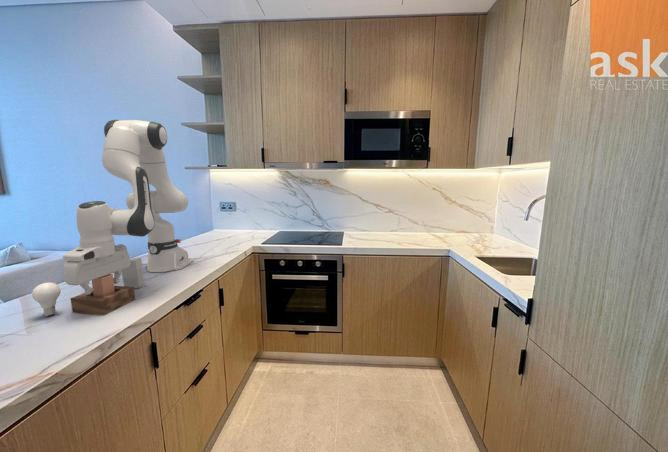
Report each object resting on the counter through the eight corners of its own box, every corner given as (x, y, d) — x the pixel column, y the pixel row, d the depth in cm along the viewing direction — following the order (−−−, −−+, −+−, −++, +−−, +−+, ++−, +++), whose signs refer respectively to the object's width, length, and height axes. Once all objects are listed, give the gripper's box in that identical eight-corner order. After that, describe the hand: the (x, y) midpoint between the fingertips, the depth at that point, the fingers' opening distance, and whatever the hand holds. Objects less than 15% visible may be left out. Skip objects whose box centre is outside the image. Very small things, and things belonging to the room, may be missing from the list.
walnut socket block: (107, 297, 102) (105, 284, 101) (135, 299, 100) (134, 286, 100) (72, 312, 90) (70, 298, 89) (104, 315, 89) (102, 300, 88)
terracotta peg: (106, 300, 97) (102, 273, 96) (115, 301, 97) (112, 274, 95) (94, 305, 93) (91, 277, 92) (105, 305, 93) (101, 278, 91)
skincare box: (145, 284, 115) (142, 257, 113) (139, 288, 111) (135, 260, 109) (130, 285, 114) (126, 257, 113) (122, 289, 110) (119, 260, 108)
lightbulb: (69, 310, 91) (64, 279, 90) (50, 320, 85) (45, 286, 83) (50, 310, 91) (44, 279, 89) (29, 320, 85) (23, 286, 83)
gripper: (118, 242, 103) (122, 277, 105) (56, 256, 83) (63, 299, 85) (132, 243, 102) (136, 278, 104) (74, 257, 82) (80, 300, 84)
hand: (103, 288), depth 94 cm, fingers open, 8 cm apart
